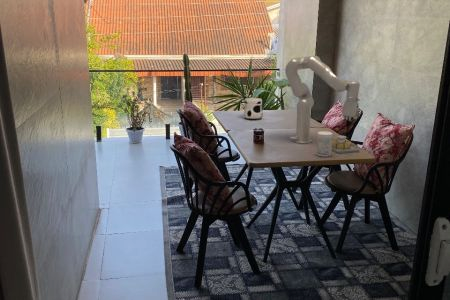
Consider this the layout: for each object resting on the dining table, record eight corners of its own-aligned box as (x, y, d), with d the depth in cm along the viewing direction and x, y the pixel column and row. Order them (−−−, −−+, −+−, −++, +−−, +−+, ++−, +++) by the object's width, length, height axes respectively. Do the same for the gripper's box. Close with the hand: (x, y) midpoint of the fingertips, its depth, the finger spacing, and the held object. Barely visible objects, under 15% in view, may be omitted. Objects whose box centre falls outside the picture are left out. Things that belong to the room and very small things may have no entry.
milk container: (240, 117, 403) (241, 98, 399) (258, 116, 408) (258, 97, 404) (247, 121, 387) (247, 100, 383) (265, 120, 392) (266, 100, 388)
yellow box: (349, 149, 289) (350, 142, 288) (330, 147, 293) (331, 140, 292) (351, 143, 305) (351, 136, 303) (333, 142, 308) (333, 135, 307)
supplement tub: (321, 152, 290) (322, 130, 286) (334, 154, 283) (335, 132, 279) (313, 155, 283) (314, 132, 279) (326, 158, 277) (327, 135, 273)
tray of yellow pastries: (337, 153, 286) (338, 140, 283) (322, 146, 304) (323, 133, 302) (359, 152, 290) (360, 139, 287) (343, 144, 308) (344, 132, 306)
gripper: (364, 100, 293) (360, 127, 299) (344, 97, 303) (341, 123, 308) (359, 102, 288) (355, 129, 293) (339, 98, 298) (335, 124, 303)
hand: (348, 126), depth 301 cm, fingers closed
